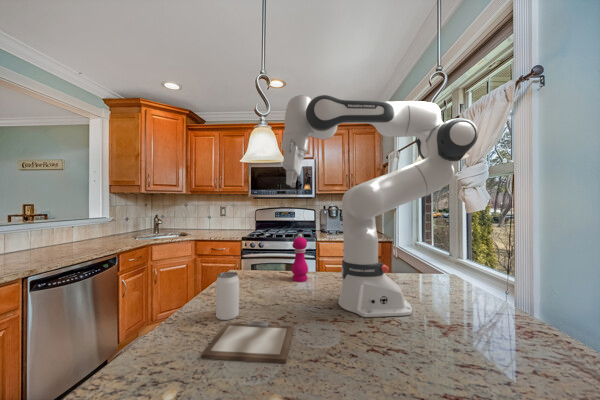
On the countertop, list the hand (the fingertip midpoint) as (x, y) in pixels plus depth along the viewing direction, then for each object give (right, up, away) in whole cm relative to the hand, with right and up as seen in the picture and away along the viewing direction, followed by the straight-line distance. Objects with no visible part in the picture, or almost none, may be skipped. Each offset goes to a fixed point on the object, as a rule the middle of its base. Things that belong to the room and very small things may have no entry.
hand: (290, 186), depth 84 cm
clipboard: (-8, -38, -25) cm, 47 cm away
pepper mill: (+3, -40, +24) cm, 46 cm away
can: (-18, -39, -11) cm, 44 cm away
